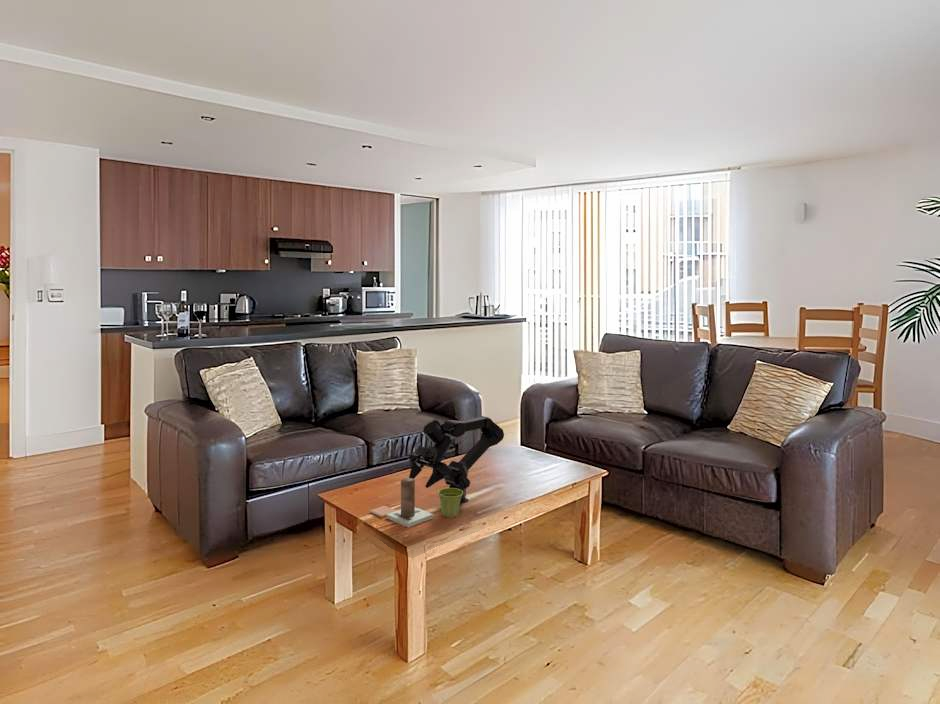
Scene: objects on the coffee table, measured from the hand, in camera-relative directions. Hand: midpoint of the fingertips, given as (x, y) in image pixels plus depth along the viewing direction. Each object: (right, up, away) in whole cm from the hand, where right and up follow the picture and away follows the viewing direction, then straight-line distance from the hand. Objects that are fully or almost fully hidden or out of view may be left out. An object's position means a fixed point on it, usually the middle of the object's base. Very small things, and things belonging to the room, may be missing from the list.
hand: (417, 484), depth 234 cm
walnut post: (-3, -11, -2) cm, 11 cm away
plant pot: (+12, -12, +3) cm, 17 cm away
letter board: (-3, -12, -1) cm, 12 cm away
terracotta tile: (-13, -11, +4) cm, 18 cm away
